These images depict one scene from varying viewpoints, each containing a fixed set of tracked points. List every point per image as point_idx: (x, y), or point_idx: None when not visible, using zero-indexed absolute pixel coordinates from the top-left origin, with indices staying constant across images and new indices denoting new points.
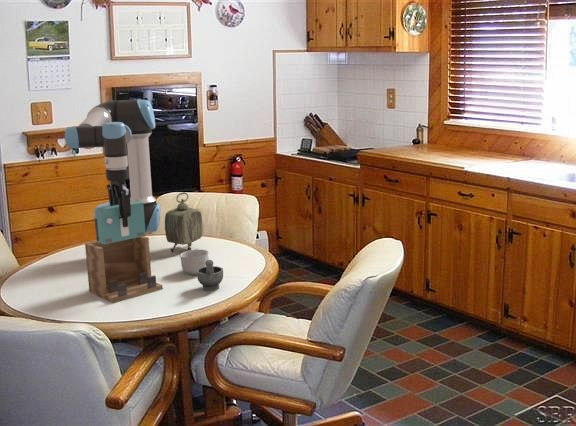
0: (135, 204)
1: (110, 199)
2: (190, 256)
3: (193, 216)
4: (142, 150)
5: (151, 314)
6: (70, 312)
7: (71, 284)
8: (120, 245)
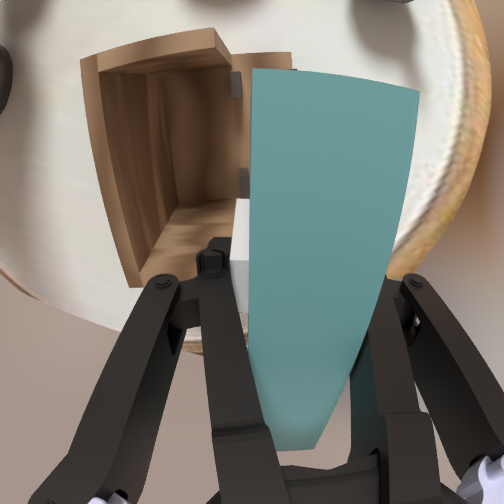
0: (397, 215)
1: (159, 418)
2: None
3: None
4: None
5: (420, 180)
6: None
7: (96, 219)
8: (123, 132)
